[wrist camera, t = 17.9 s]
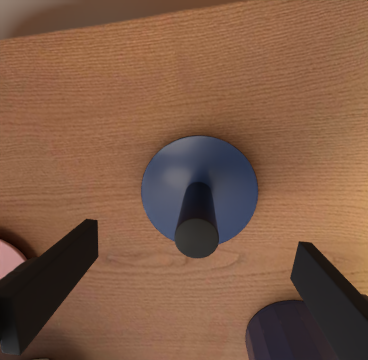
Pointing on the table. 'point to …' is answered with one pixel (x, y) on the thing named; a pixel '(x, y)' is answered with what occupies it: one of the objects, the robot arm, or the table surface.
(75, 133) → the table surface
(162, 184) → the lid
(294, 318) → the pot
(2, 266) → the plate
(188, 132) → the table surface
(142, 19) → the table surface
